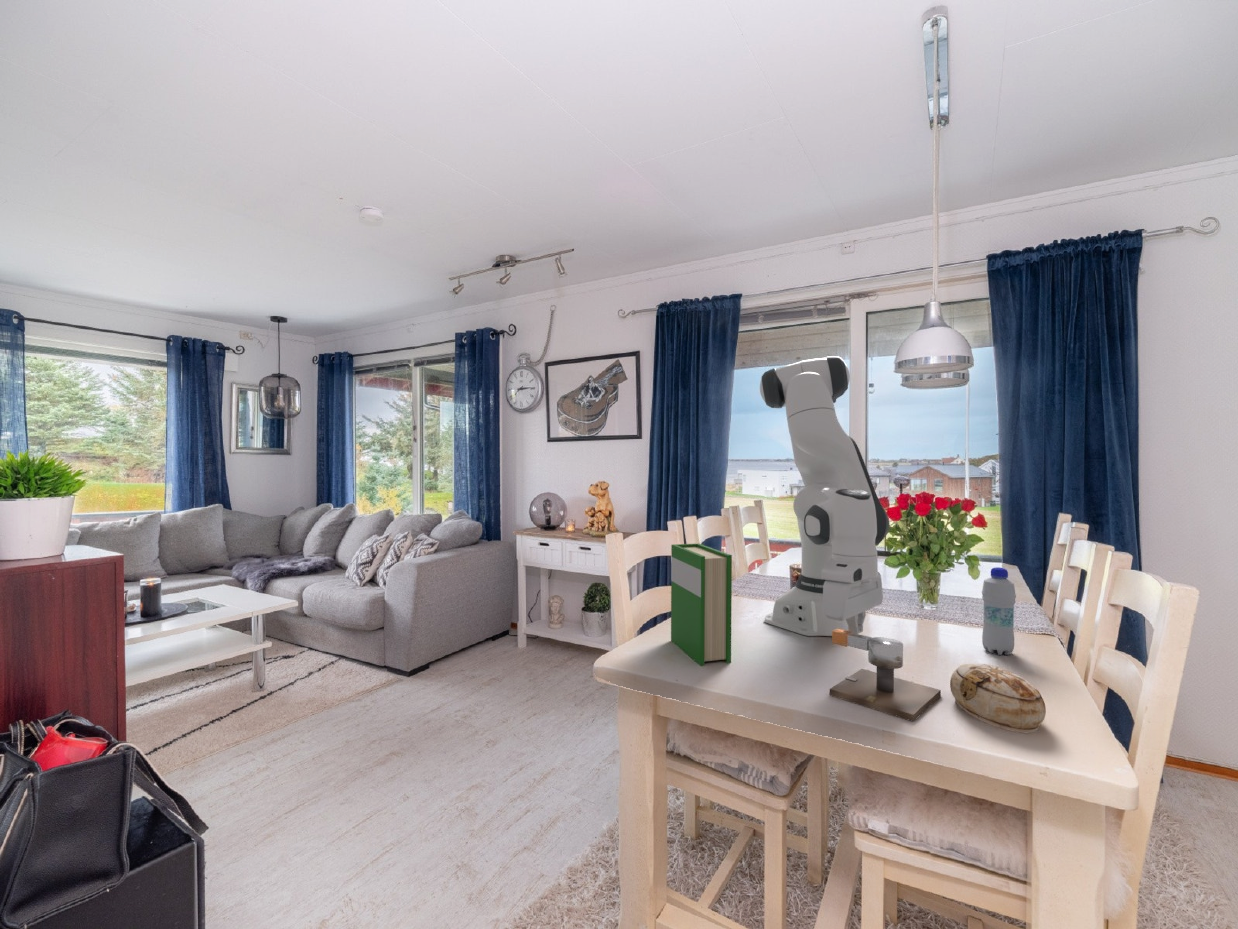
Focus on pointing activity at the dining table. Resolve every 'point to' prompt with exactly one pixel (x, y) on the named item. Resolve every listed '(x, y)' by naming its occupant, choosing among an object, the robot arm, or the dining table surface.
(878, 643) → the lever handle
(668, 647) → the dining table surface
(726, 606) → the hardback book
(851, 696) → the base
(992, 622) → the bottle
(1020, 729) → the trinket box
